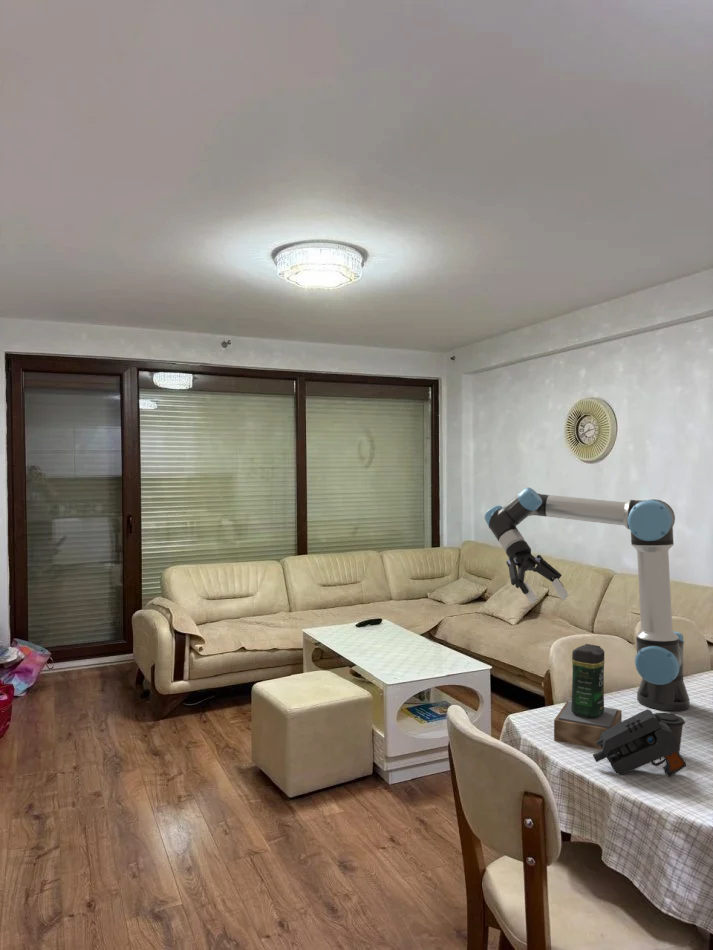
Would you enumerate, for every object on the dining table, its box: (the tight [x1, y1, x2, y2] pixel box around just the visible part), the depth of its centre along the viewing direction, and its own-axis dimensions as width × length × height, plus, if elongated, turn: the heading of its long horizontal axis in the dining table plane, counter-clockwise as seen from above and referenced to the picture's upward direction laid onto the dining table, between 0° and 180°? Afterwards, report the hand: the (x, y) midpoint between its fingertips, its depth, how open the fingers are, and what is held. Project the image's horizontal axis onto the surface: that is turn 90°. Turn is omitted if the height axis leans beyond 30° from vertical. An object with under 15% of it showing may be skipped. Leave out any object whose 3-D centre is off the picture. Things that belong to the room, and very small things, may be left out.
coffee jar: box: [571, 643, 605, 718], centre depth 182 cm, size 10×8×19 cm
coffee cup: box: [653, 712, 686, 754], centre depth 169 cm, size 8×8×10 cm
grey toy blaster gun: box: [592, 708, 687, 778], centre depth 159 cm, size 6×19×15 cm, turn 78°
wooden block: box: [553, 701, 623, 751], centre depth 182 cm, size 15×17×6 cm
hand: (550, 599), depth 202 cm, fingers open, 13 cm apart
